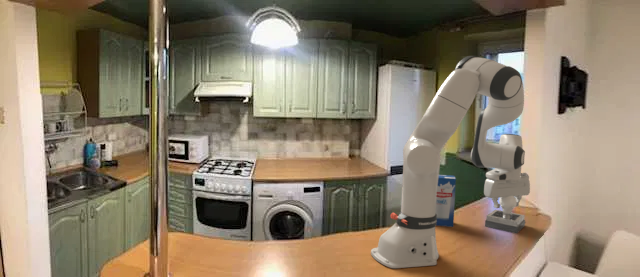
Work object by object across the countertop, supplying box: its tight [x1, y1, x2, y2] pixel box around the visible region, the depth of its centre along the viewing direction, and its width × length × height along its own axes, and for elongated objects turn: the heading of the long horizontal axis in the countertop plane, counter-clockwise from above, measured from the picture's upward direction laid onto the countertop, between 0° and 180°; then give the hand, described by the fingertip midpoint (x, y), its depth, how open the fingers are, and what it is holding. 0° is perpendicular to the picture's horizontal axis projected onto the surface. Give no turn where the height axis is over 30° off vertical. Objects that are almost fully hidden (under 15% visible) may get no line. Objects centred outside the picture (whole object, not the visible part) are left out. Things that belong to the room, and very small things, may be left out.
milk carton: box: [436, 174, 457, 228], centre depth 156 cm, size 10×6×20 cm, turn 76°
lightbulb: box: [498, 196, 517, 219], centre depth 153 cm, size 6×6×11 cm
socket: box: [484, 209, 526, 234], centre depth 154 cm, size 12×12×4 cm
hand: (506, 206), depth 153 cm, fingers open, 8 cm apart
